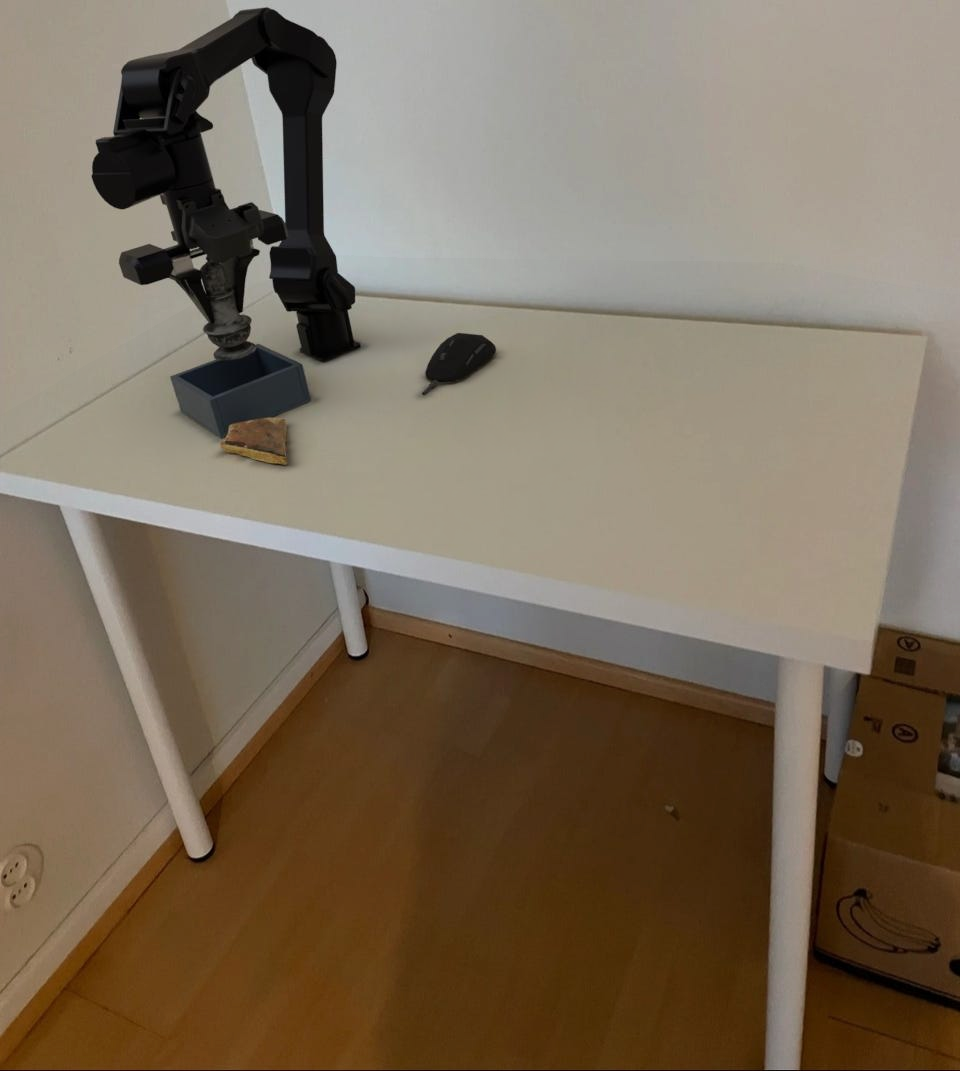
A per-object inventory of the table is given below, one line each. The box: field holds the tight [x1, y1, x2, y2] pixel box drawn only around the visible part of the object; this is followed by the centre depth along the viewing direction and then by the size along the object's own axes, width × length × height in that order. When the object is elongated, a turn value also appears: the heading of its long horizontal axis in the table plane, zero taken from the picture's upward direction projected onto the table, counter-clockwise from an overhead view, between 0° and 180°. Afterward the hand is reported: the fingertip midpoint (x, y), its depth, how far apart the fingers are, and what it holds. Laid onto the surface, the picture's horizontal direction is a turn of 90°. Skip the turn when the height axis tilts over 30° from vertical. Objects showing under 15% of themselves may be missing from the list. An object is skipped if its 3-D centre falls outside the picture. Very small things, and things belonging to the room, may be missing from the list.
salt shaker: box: [199, 255, 257, 361], centre depth 114 cm, size 6×6×12 cm
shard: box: [219, 417, 288, 466], centre depth 109 cm, size 11×8×2 cm
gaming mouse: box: [421, 332, 497, 396], centre depth 121 cm, size 6×15×4 cm, turn 149°
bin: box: [169, 343, 312, 439], centre depth 120 cm, size 13×12×5 cm
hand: (225, 317), depth 114 cm, fingers closed on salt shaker, 3 cm apart
